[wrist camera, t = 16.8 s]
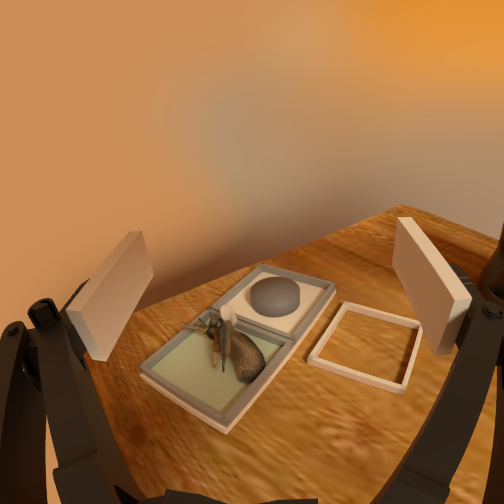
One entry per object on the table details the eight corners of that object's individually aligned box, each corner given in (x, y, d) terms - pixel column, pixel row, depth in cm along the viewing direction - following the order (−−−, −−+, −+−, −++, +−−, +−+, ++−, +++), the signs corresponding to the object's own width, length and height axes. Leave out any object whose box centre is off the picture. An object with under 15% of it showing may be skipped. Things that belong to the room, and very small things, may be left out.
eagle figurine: (173, 354, 35) (213, 391, 28) (186, 297, 35) (230, 323, 28) (225, 355, 40) (269, 385, 33) (238, 304, 40) (287, 326, 33)
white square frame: (344, 306, 44) (344, 300, 44) (423, 328, 38) (425, 322, 37) (307, 363, 36) (307, 357, 35) (402, 395, 29) (405, 390, 29)
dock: (263, 272, 54) (262, 257, 53) (335, 293, 47) (337, 277, 46) (141, 379, 35) (133, 363, 33) (226, 434, 28) (221, 420, 26)
